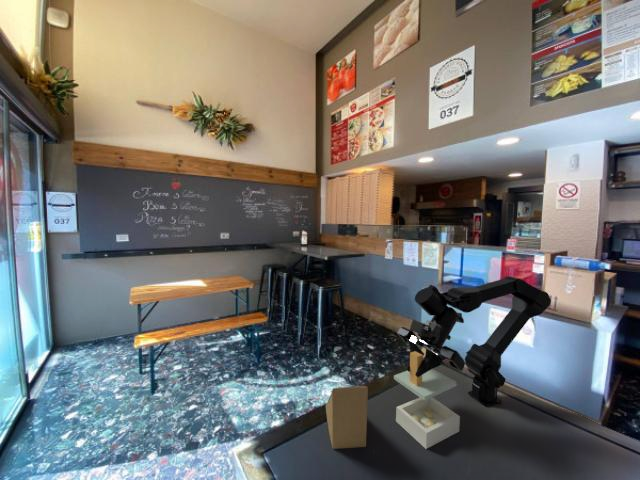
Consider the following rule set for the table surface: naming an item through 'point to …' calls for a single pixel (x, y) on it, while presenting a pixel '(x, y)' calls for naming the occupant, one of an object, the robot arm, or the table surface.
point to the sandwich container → (347, 417)
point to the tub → (427, 421)
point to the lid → (424, 379)
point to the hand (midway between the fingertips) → (412, 373)
